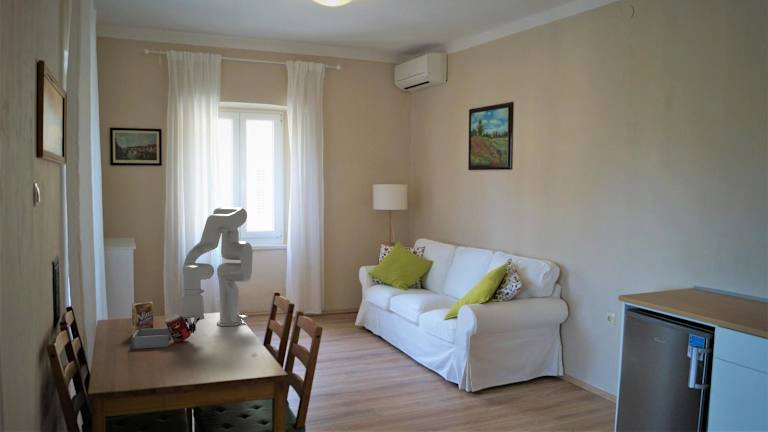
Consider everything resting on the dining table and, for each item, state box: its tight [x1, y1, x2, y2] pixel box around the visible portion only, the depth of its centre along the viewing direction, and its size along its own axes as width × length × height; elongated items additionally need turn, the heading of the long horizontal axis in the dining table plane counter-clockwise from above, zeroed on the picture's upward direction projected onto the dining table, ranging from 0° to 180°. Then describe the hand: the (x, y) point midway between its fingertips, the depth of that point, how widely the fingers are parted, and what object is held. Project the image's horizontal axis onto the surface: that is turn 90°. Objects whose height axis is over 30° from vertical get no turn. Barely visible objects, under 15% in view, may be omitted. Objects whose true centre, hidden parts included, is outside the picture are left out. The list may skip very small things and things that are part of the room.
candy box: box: [131, 301, 154, 336], centre depth 281 cm, size 9×4×15 cm, turn 134°
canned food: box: [164, 312, 192, 344], centre depth 267 cm, size 8×8×11 cm
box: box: [131, 327, 173, 350], centre depth 265 cm, size 15×15×5 cm
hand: (192, 332), depth 268 cm, fingers closed
